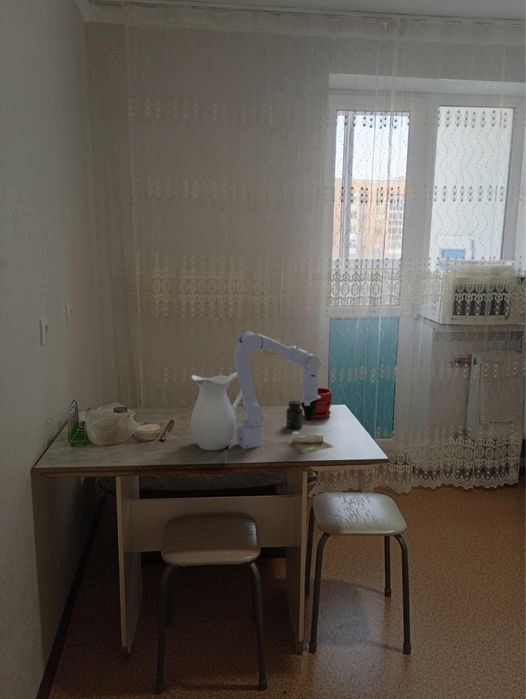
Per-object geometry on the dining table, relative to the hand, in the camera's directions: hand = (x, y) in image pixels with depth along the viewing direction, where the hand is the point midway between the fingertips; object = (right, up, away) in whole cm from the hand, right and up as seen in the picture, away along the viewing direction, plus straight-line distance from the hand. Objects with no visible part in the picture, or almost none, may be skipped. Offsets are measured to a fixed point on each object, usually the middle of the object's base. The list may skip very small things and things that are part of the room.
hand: (309, 418), depth 206 cm
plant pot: (+6, -3, +36) cm, 36 cm away
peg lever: (-1, -8, -3) cm, 9 cm away
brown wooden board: (-2, -10, -5) cm, 11 cm away
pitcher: (-34, -10, -1) cm, 36 cm away
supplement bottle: (-5, -7, +16) cm, 18 cm away
